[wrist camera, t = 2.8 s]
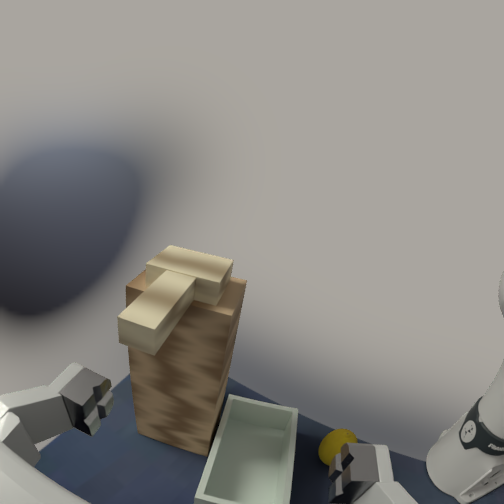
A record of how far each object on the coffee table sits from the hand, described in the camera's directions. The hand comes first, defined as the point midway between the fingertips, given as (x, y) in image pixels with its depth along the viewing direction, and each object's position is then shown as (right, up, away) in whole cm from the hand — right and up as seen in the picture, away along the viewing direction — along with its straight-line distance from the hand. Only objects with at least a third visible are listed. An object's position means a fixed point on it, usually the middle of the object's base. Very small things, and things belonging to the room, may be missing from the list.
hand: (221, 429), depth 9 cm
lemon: (+13, -27, +29) cm, 42 cm away
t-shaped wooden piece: (-6, +2, +20) cm, 21 cm away
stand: (-10, -22, +32) cm, 40 cm away
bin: (0, -26, +27) cm, 37 cm away
